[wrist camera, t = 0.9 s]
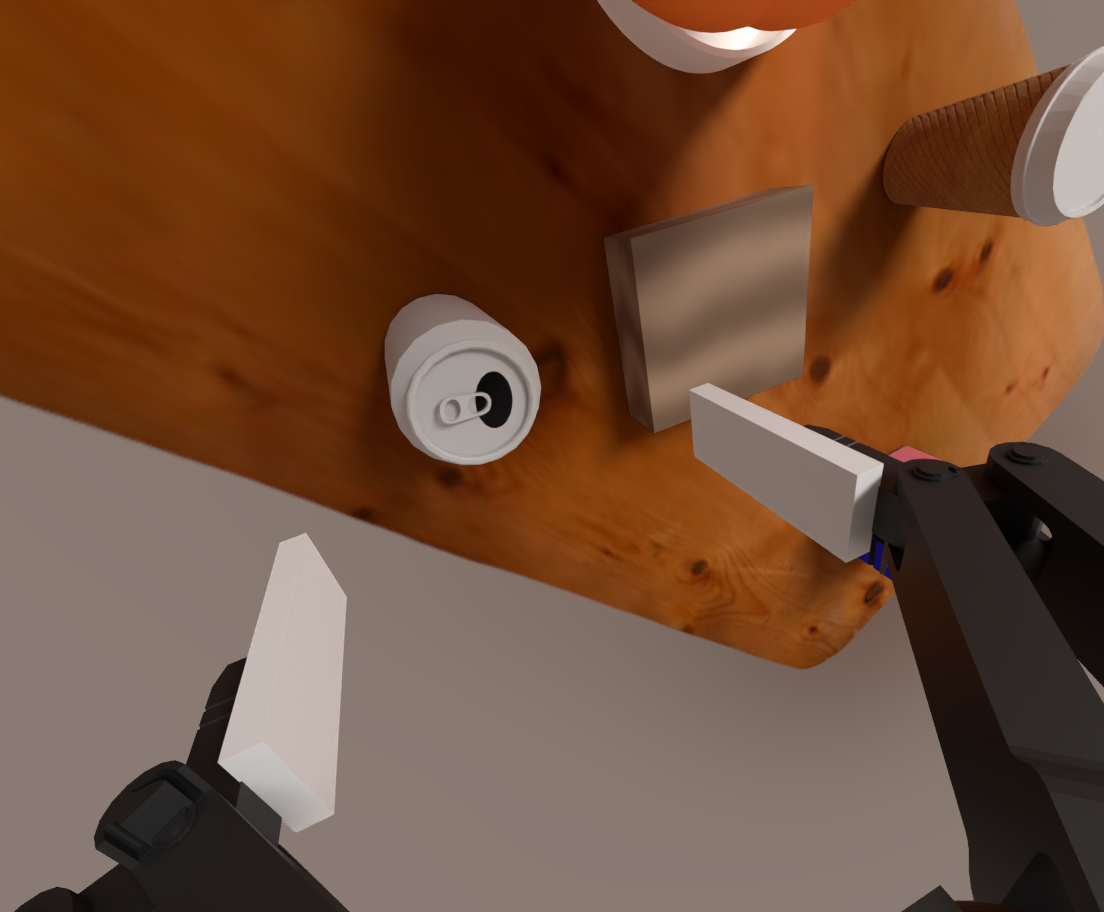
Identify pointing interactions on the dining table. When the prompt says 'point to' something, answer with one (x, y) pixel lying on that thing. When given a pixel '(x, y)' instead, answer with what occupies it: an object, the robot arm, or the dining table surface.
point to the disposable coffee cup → (1009, 149)
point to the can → (459, 381)
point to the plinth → (712, 301)
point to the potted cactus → (713, 28)
